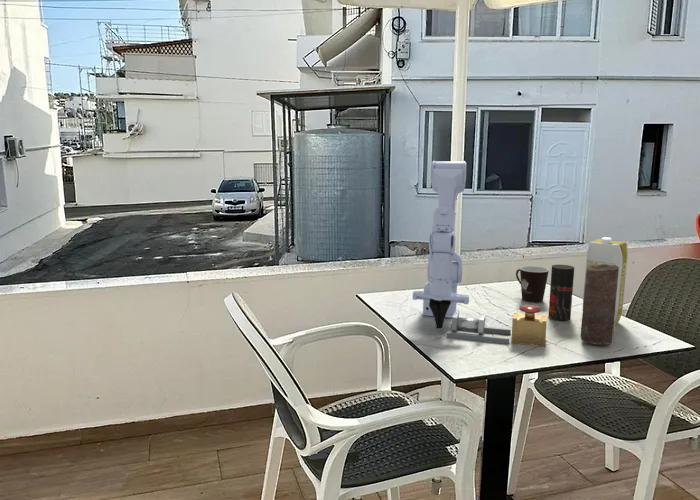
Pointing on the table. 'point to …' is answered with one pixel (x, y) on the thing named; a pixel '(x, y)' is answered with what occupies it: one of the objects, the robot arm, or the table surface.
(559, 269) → the deodorant
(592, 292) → the rock core sample
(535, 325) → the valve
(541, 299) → the coffee mug
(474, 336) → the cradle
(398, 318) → the table surface
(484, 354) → the table surface
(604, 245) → the juice carton
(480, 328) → the spool
